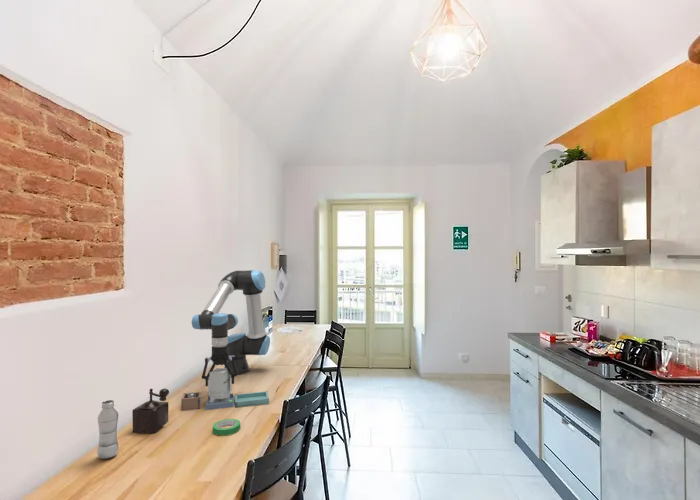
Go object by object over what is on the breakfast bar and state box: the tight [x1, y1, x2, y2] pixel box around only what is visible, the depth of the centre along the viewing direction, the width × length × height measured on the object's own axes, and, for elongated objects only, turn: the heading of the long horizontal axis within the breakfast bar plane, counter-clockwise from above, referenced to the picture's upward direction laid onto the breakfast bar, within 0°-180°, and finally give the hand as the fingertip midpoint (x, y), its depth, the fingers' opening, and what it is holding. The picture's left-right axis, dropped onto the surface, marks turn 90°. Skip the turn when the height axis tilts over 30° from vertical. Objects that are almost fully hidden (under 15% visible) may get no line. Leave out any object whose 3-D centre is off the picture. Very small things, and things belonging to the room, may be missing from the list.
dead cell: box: [187, 392, 196, 398], centre depth 189 cm, size 4×4×6 cm
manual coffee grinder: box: [131, 388, 170, 434], centre depth 167 cm, size 16×11×18 cm
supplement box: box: [208, 367, 231, 399], centre depth 192 cm, size 7×7×13 cm
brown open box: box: [180, 391, 202, 411], centre depth 189 cm, size 8×8×6 cm
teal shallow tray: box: [234, 390, 270, 409], centre depth 196 cm, size 11×16×2 cm
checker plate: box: [210, 394, 230, 404], centre depth 192 cm, size 9×9×1 cm
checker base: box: [204, 392, 235, 411], centre depth 192 cm, size 13×13×4 cm
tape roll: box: [212, 418, 241, 436], centre depth 165 cm, size 11×11×3 cm
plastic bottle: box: [96, 399, 119, 460], centre depth 144 cm, size 6×7×20 cm
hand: (220, 391), depth 192 cm, fingers closed on supplement box, 9 cm apart
